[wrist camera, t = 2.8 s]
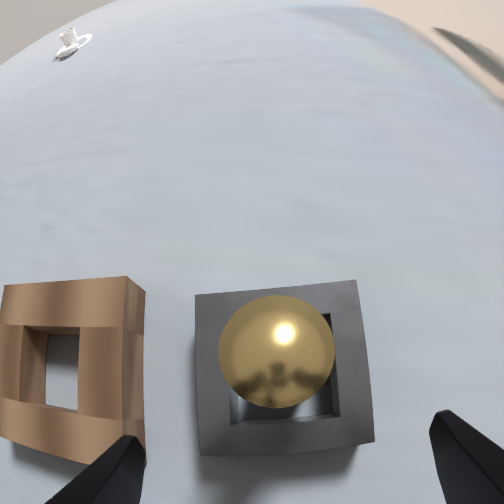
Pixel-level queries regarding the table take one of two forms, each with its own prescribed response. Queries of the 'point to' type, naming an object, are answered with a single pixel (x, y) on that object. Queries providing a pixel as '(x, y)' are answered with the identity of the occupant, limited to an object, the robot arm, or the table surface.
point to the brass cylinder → (276, 351)
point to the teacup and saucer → (70, 42)
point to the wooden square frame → (89, 365)
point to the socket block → (290, 429)
